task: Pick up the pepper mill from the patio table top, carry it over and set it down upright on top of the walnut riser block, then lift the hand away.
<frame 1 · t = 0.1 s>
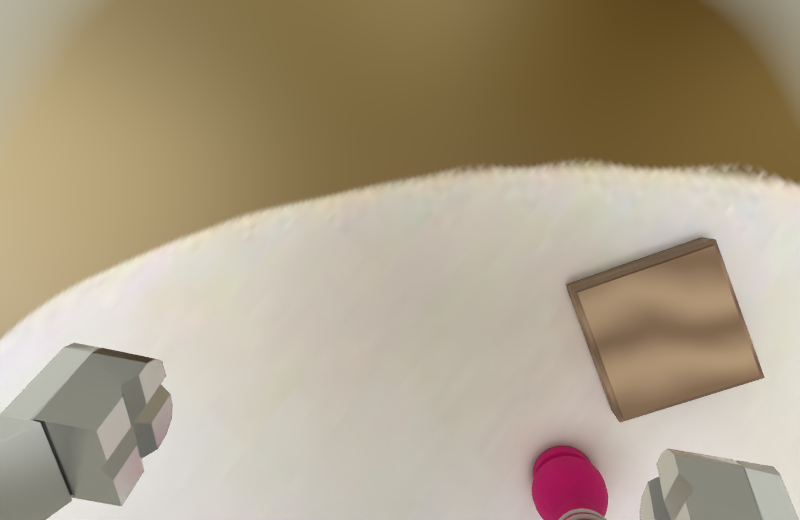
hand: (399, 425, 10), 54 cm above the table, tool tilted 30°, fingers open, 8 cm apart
walnut riser: (655, 325, 62), on the table
pepper mill: (562, 473, 65), on the table
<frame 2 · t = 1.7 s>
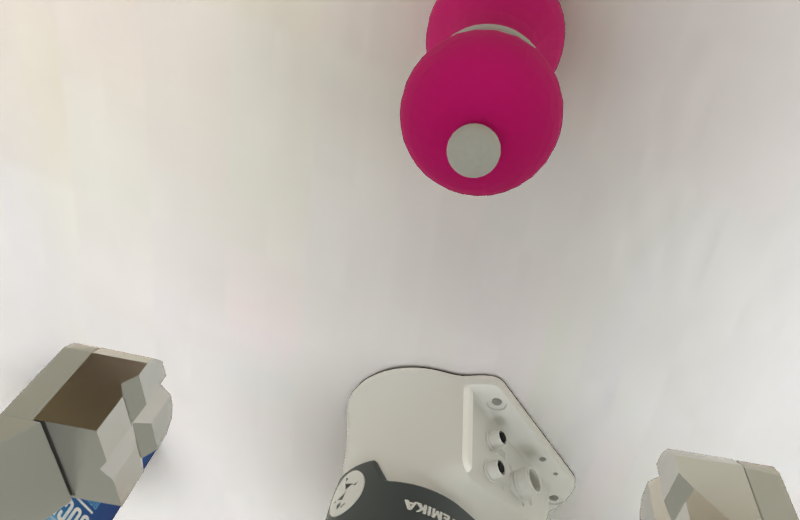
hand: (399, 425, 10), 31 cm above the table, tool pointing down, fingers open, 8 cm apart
pepper mill: (497, 19, 36), on the table
juice carton: (102, 408, 64), on the table
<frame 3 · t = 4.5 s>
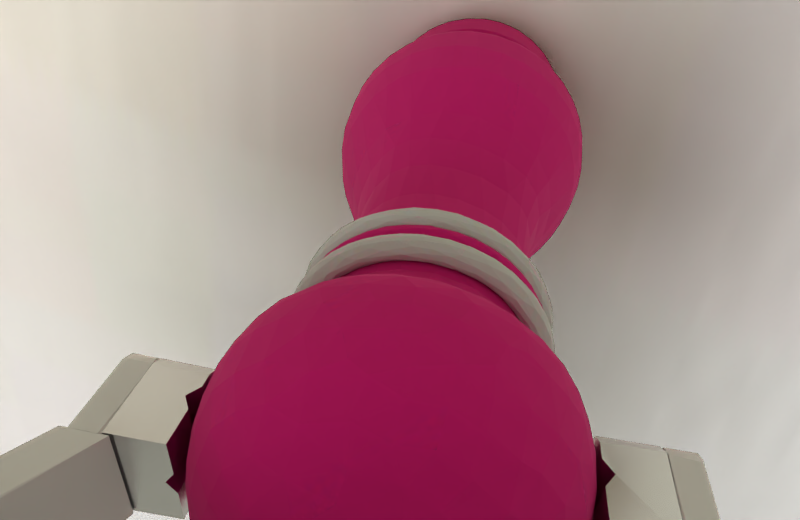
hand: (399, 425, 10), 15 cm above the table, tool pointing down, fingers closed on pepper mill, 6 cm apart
pepper mill: (471, 105, 22), on the table, touching gripper
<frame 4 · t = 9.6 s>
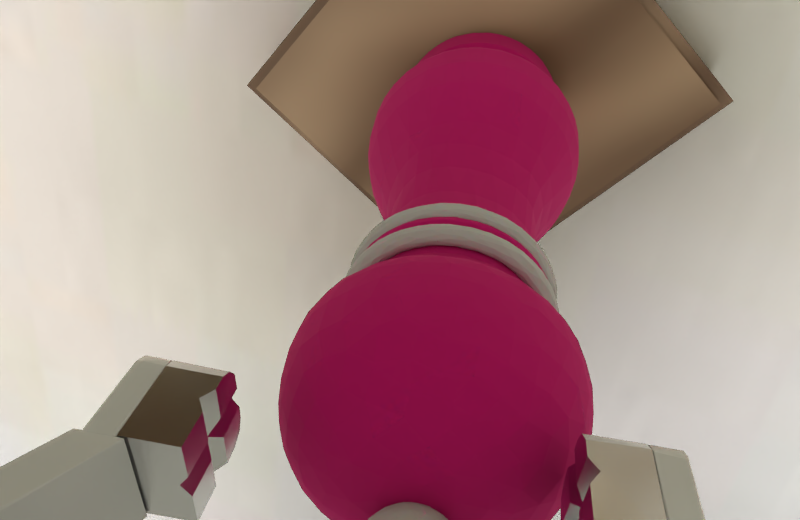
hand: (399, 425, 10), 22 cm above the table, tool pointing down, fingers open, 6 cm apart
walnut riser: (480, 68, 28), on the table
pepper mill: (479, 108, 25), point 4 cm above the table, touching gripper, walnut riser
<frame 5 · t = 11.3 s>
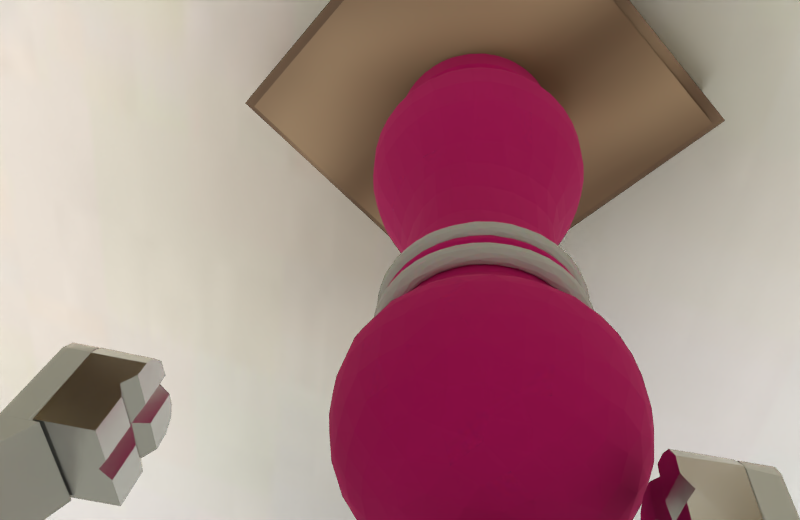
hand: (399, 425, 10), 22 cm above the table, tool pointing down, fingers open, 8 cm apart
walnut riser: (476, 86, 28), on the table
pepper mill: (474, 128, 25), point 4 cm above the table, touching gripper, walnut riser
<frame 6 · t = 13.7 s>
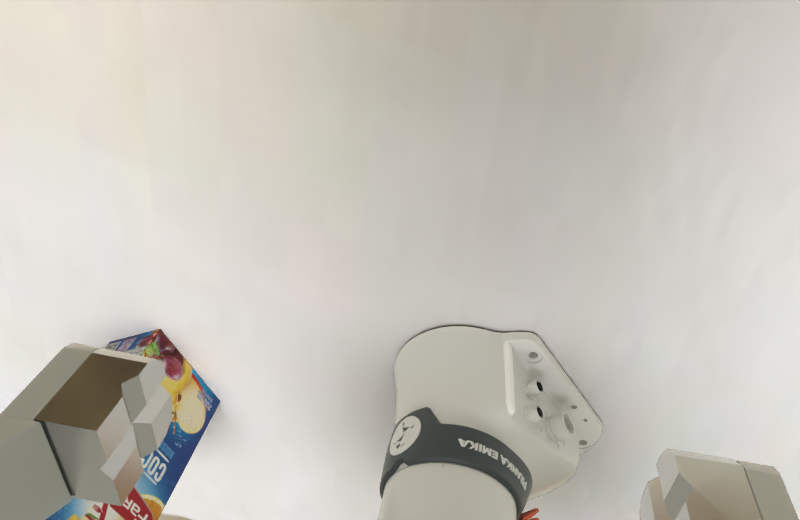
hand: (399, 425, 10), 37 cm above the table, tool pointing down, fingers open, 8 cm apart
juice carton: (167, 370, 70), on the table
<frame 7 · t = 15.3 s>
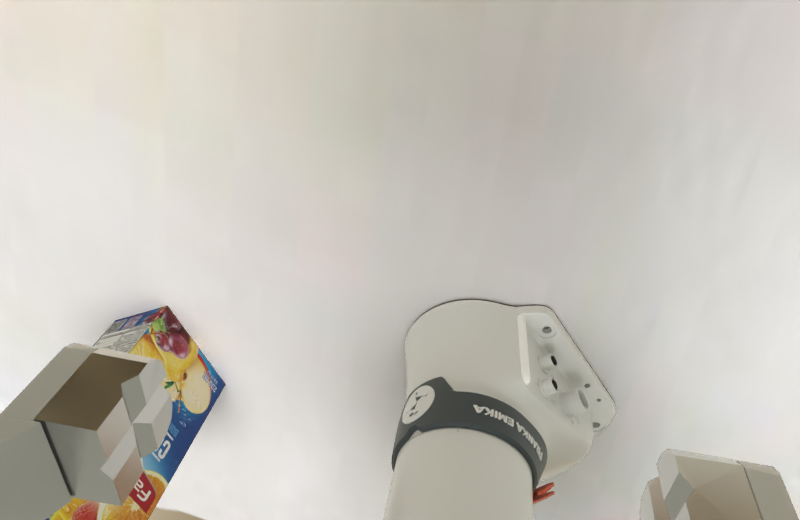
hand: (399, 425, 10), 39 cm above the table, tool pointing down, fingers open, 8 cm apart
juice carton: (172, 351, 69), on the table
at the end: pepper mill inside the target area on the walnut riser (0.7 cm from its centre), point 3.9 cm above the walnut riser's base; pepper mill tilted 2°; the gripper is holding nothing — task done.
